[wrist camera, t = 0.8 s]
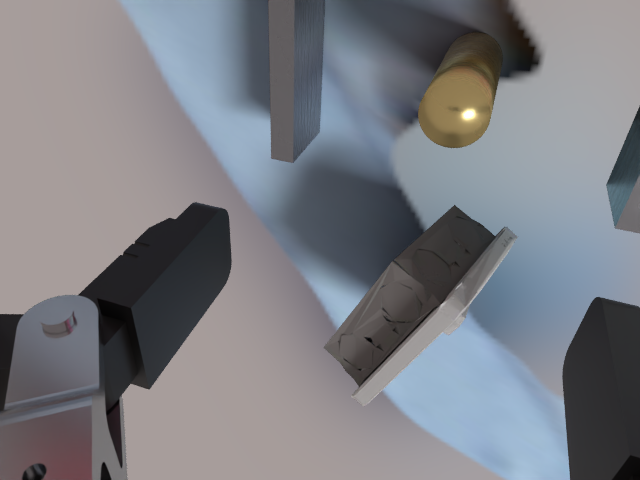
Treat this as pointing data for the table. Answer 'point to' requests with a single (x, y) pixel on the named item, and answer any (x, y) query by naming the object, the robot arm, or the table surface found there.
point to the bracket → (305, 101)
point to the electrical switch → (417, 300)
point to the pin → (462, 92)
